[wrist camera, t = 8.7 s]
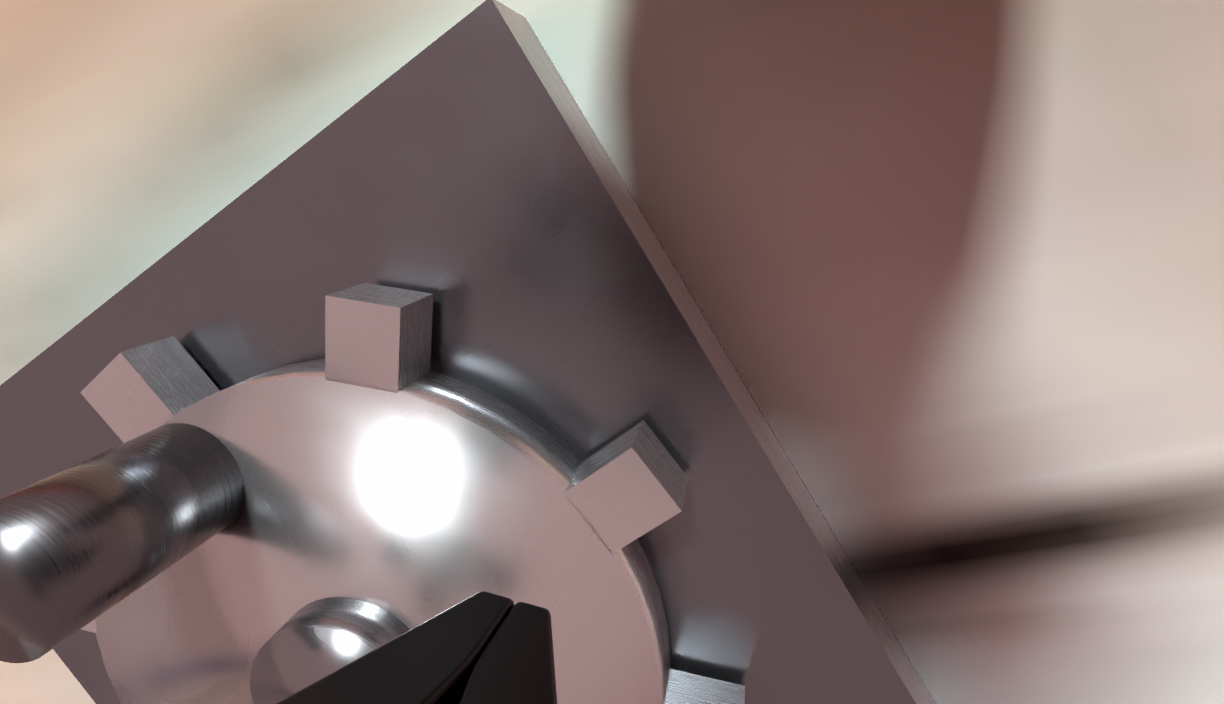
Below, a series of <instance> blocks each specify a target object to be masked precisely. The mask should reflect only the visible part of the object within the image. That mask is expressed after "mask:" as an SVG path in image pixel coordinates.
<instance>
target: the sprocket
mask: <svg viewBox="0 0 1224 704" xmlns="http://www.w3.org/2000/svg"><path fill="white" fill-rule="evenodd" d="M432 316H433V294H432V293H425V292H419V291H413V290H407V289H400V288H394V287H388V286H382V285H375V284H369V283H363V284H360V285H357V286H353V287H350V288H347V289H344V290H341V291H338V292H335V293H332V294H329V295H325V359H319V360H313V361H307V362H302V363H296V364H290V365H285V366H282V367H280V368H277V369H274V370H271V371H268V372H265V373H262V374H259V375H256V376H253V377H251V378H249V379H246V380H244V381H242V382H239V383H237V384H235V385H233V386H230V387H228V388H226V389H223V390H221V391H220V390H219V389H218V388H217V386H216V385H215V384H214V383H213V382H212V381H211V379H210V378H209V377H208V376H207V375H206V373H205V372H204V371H203V370H202V369H201V367H200V366H199V365H198V364H197V363H196V362H195V360H194V359H193V358H192V357H191V356H190V354H189V353H188V352H187V351H186V350H185V348H184V347H183V346H182V345H181V344H180V343H179V341H178V340H177V339H176V338H175V337H174V336H172V337H169V338H166V339H163V340H159V341H156V342H153V343H150V344H146V345H143V346H140V347H137V348H133V349H130V350H127V351H124V352H120V353H119V354H118V355H117V356H116V357H115V358H114V359H113V360H112V361H111V362H110V363H109V364H108V365H107V366H106V367H105V368H104V369H103V370H102V371H101V372H100V373H99V374H98V375H97V376H96V377H95V378H94V379H93V380H92V381H91V382H90V383H89V384H88V385H87V386H86V387H85V388H84V389H83V390H82V391H81V392H80V393H81V394H82V395H83V396H84V398H85V399H86V400H87V401H88V402H89V403H90V404H91V406H92V407H93V408H94V409H95V410H96V411H97V413H98V414H99V415H100V416H101V417H102V418H103V419H104V421H105V422H106V423H107V424H108V425H109V426H110V428H111V429H112V430H113V431H114V432H115V433H116V434H117V436H118V437H119V438H120V439H121V440H122V441H123V444H120V445H118V446H116V447H114V448H112V449H109V450H107V451H105V452H103V453H101V454H98V455H96V456H94V457H92V458H90V459H87V460H85V461H83V462H81V463H79V464H76V465H74V466H72V467H70V468H67V469H65V470H63V471H61V472H59V473H56V474H54V475H52V476H50V477H48V478H45V479H43V480H41V481H39V482H37V483H34V484H32V485H30V486H28V487H25V488H23V489H21V490H19V491H17V492H14V493H12V494H10V495H8V496H6V497H3V498H1V499H0V661H4V662H10V663H25V662H29V661H33V660H35V659H38V658H40V657H41V656H43V655H44V654H46V653H47V652H48V651H50V650H51V649H53V648H54V647H56V646H57V645H58V644H60V643H61V642H63V641H64V640H66V639H67V638H68V637H70V636H71V635H73V634H74V633H76V632H77V631H78V630H80V629H81V630H85V631H89V632H93V633H96V638H97V641H98V645H99V648H100V651H101V655H102V658H103V662H104V665H105V668H106V671H107V673H108V676H109V678H110V681H111V683H112V685H113V688H114V690H115V692H116V695H117V697H118V700H119V702H120V703H121V704H277V703H278V702H280V701H282V700H284V699H286V698H288V697H289V696H291V695H293V694H295V693H297V692H298V691H300V690H302V689H304V688H306V687H307V686H309V685H311V684H313V683H315V682H317V681H318V680H320V679H322V678H324V677H326V676H327V675H329V674H331V673H333V672H335V671H336V670H338V669H340V668H342V667H344V666H346V665H347V664H349V663H351V662H353V661H355V660H356V659H358V658H360V657H362V656H364V655H365V654H367V653H369V652H371V651H373V650H375V649H376V648H378V647H380V646H382V645H384V644H385V643H387V642H389V641H391V640H393V639H394V638H396V637H398V636H400V635H402V634H404V633H405V632H407V631H409V630H411V629H413V628H414V627H416V626H418V625H420V624H422V623H423V622H425V621H427V620H429V619H431V618H433V617H434V616H436V615H438V614H440V613H442V612H443V611H445V610H447V609H449V608H451V607H452V606H454V605H456V604H458V603H460V602H462V601H463V600H465V599H467V598H469V597H471V596H472V595H474V594H476V593H478V592H481V591H486V592H490V593H493V594H497V595H500V596H504V597H507V598H510V599H512V600H513V602H514V605H515V604H516V603H518V602H525V603H528V604H532V605H536V606H539V607H543V608H546V609H548V610H549V612H550V614H551V625H552V638H553V652H554V665H555V679H556V692H557V704H745V686H744V685H739V684H735V683H731V682H726V681H722V680H718V679H713V678H709V677H705V676H700V675H696V674H692V673H687V672H683V671H679V670H674V669H670V649H669V634H668V626H667V621H666V617H665V612H664V608H663V603H662V598H661V594H660V591H659V588H658V585H657V583H656V580H655V577H654V575H653V572H652V569H651V566H650V564H649V561H648V558H647V556H646V554H645V552H644V550H643V548H642V547H641V545H640V543H639V541H638V539H637V538H639V537H641V536H642V535H644V534H646V533H647V532H649V531H650V530H652V529H654V528H655V527H657V526H659V525H660V524H662V523H664V522H665V521H667V520H668V519H670V518H672V517H673V516H675V515H677V514H678V513H680V512H681V511H682V508H683V503H684V498H685V493H686V489H687V484H688V479H689V478H688V477H687V476H686V474H685V473H684V472H683V470H682V469H681V468H680V466H679V465H678V464H677V463H676V461H675V460H674V459H673V457H672V456H671V455H670V454H669V452H668V451H667V450H666V448H665V447H664V446H663V445H662V443H661V442H660V441H659V439H658V438H657V437H656V436H655V434H654V433H653V432H652V430H651V429H650V428H649V427H648V425H647V424H646V423H645V421H644V420H643V421H642V422H640V423H639V424H637V425H636V426H634V427H633V428H631V429H630V430H628V431H627V432H625V433H624V434H622V435H621V436H619V437H618V438H617V439H615V440H614V441H612V442H611V443H609V444H608V445H606V446H605V447H603V448H602V449H600V450H599V451H597V452H596V453H594V454H593V455H591V456H590V457H588V458H587V459H585V460H584V461H583V462H581V461H580V460H579V459H578V458H577V457H576V456H575V455H574V454H573V453H572V452H570V451H569V450H568V449H567V448H566V447H565V446H564V445H563V444H561V443H560V442H559V441H558V440H557V439H556V438H555V437H553V436H552V435H551V434H550V433H549V432H548V431H547V430H545V429H544V428H542V427H541V426H540V425H538V424H537V423H535V422H534V421H532V420H531V419H529V418H528V417H526V416H525V415H524V414H522V413H521V412H519V411H518V410H516V409H515V408H513V407H512V406H510V405H508V404H507V403H505V402H503V401H501V400H499V399H497V398H495V397H493V396H491V395H489V394H488V393H486V392H484V391H482V390H480V389H478V388H476V387H474V386H472V385H469V384H467V383H464V382H461V381H459V380H456V379H453V378H451V377H448V376H446V375H443V374H440V373H438V372H435V371H431V370H430V361H431V339H432Z"/></svg>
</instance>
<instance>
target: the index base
mask: <svg viewBox="0 0 1224 704" xmlns="http://www.w3.org/2000/svg"><path fill="white" fill-rule="evenodd" d="M363 283H369V284H375V285H382V286H388V287H394V288H400V289H407V290H413V291H419V292H425V293H432V294H433V316H432V339H431V361H430V370H431V371H435V372H438V373H440V374H443V375H446V376H448V377H451V378H453V379H456V380H459V381H461V382H464V383H467V384H469V385H472V386H474V387H476V388H478V389H480V390H482V391H484V392H486V393H488V394H489V395H491V396H493V397H495V398H497V399H499V400H501V401H503V402H505V403H507V404H508V405H510V406H512V407H513V408H515V409H516V410H518V411H519V412H521V413H522V414H524V415H525V416H526V417H528V418H529V419H531V420H532V421H534V422H535V423H537V424H538V425H540V426H541V427H542V428H544V429H545V430H547V431H548V432H549V433H550V434H551V435H552V436H553V437H555V438H556V439H557V440H558V441H559V442H560V443H561V444H563V445H564V446H565V447H566V448H567V449H568V450H569V451H570V452H572V453H573V454H574V455H575V456H576V457H577V458H578V459H579V460H580V461H581V462H583V461H584V460H585V459H587V458H588V457H590V456H591V455H593V454H594V453H596V452H597V451H599V450H600V449H602V448H603V447H605V446H606V445H608V444H609V443H611V442H612V441H614V440H615V439H617V438H618V437H619V436H621V435H622V434H624V433H625V432H627V431H628V430H630V429H631V428H633V427H634V426H636V425H637V424H639V423H640V422H642V421H643V420H644V421H645V423H646V424H647V425H648V427H649V428H650V429H651V430H652V432H653V433H654V434H655V436H656V437H657V438H658V439H659V441H660V442H661V443H662V445H663V446H664V447H665V448H666V450H667V451H668V452H669V454H670V455H671V456H672V457H673V459H674V460H675V461H676V463H677V464H678V465H679V466H680V468H681V469H682V470H683V472H684V473H685V474H686V476H687V477H688V478H689V479H688V484H687V489H686V493H685V498H684V503H683V508H682V511H681V512H680V513H678V514H677V515H675V516H673V517H672V518H670V519H668V520H667V521H665V522H664V523H662V524H660V525H659V526H657V527H655V528H654V529H652V530H650V531H649V532H647V533H646V534H644V535H642V536H641V537H639V538H637V539H638V541H639V543H640V545H641V547H642V548H643V550H644V552H645V554H646V556H647V558H648V561H649V564H650V566H651V569H652V572H653V575H654V577H655V580H656V583H657V585H658V588H659V591H660V594H661V598H662V603H663V608H664V612H665V617H666V621H667V626H668V634H669V649H670V669H674V670H679V671H683V672H687V673H692V674H696V675H700V676H705V677H709V678H713V679H718V680H722V681H726V682H731V683H735V684H739V685H744V686H745V704H935V702H934V701H933V699H932V697H931V696H930V694H929V692H928V691H927V689H926V687H925V686H924V684H923V682H922V680H921V679H920V677H919V675H918V674H917V672H916V670H915V669H914V667H913V665H912V664H911V662H910V660H909V659H908V657H907V655H906V654H905V652H904V650H903V649H902V647H901V645H900V644H899V642H898V640H897V639H896V637H895V635H894V634H893V632H892V630H891V629H890V627H889V625H888V624H887V622H886V620H885V619H884V617H883V615H882V614H881V612H880V610H879V609H878V607H877V605H876V604H875V602H874V600H873V599H872V597H871V595H870V594H869V592H868V590H867V589H866V587H865V585H864V583H863V582H862V580H861V578H860V577H859V575H858V573H857V572H856V570H855V568H854V567H853V565H852V563H851V562H850V560H849V558H848V557H847V555H846V553H845V552H844V550H843V548H842V547H841V545H840V543H839V542H838V540H837V538H836V537H835V535H834V533H833V532H832V530H831V528H830V527H829V525H828V523H827V522H826V520H825V518H824V517H823V515H822V513H821V512H820V510H819V508H818V507H817V505H816V503H815V502H814V500H813V498H812V497H811V495H810V493H809V491H808V490H807V488H806V486H805V485H804V483H803V481H802V480H801V478H800V476H799V475H798V473H797V471H796V470H795V468H794V466H793V465H792V463H791V461H790V460H789V458H788V456H787V455H786V453H785V451H784V450H783V448H782V446H781V445H780V443H779V441H778V440H777V438H776V436H775V435H774V433H773V431H772V430H771V428H770V426H769V425H768V423H767V421H766V420H765V418H764V416H763V415H762V413H761V411H760V410H759V408H758V406H757V405H756V403H755V401H754V400H753V398H752V396H751V394H750V393H749V391H748V389H747V388H746V386H745V384H744V383H743V381H742V379H741V378H740V376H739V374H738V373H737V371H736V369H735V368H734V366H733V364H732V363H731V361H730V359H729V358H728V356H727V354H726V353H725V351H724V349H723V348H722V346H721V344H720V343H719V341H718V339H717V338H716V336H715V334H714V333H713V331H712V329H711V328H710V326H709V324H708V323H707V321H706V319H705V318H704V316H703V314H702V313H701V311H700V309H699V308H698V306H697V304H696V303H695V301H694V299H693V297H692V296H691V294H690V292H689V291H688V289H687V287H686V286H685V284H684V282H683V281H682V279H681V277H680V276H679V274H678V272H677V271H676V269H675V267H674V266H673V264H672V262H671V261H670V259H669V257H668V256H667V254H666V252H665V251H664V249H663V247H662V246H661V244H660V242H659V241H658V239H657V237H656V236H655V234H654V232H653V231H652V229H651V227H650V226H649V224H648V222H647V221H646V219H645V217H644V216H643V214H642V212H641V211H640V209H639V207H638V206H637V204H636V202H635V200H634V199H633V197H632V195H631V194H630V192H629V190H628V189H627V187H626V185H625V184H624V182H623V180H622V179H621V177H620V175H619V174H618V172H617V170H616V169H615V167H614V165H613V164H612V162H611V160H610V159H609V157H608V155H607V154H606V152H605V150H604V149H603V147H602V145H601V144H600V142H599V140H598V139H597V137H596V135H595V134H594V132H593V130H592V129H591V127H590V125H589V124H588V122H587V120H586V119H585V117H584V115H583V114H582V112H581V110H580V108H579V107H578V105H577V103H576V102H575V100H574V98H573V97H572V95H571V93H570V92H569V90H568V88H567V87H566V85H565V83H564V82H563V80H562V78H561V77H560V75H559V73H558V72H557V70H556V68H555V67H554V65H553V63H552V62H551V60H550V58H549V57H548V55H547V53H546V52H545V50H544V48H543V47H542V45H541V43H540V42H539V40H538V38H537V37H536V35H535V33H534V32H533V30H532V28H531V27H530V25H529V23H528V22H527V20H526V18H524V17H523V16H521V15H519V14H518V13H516V12H514V11H513V10H511V9H509V8H508V7H506V6H504V5H503V4H501V3H499V2H498V1H496V0H486V1H485V2H484V3H482V4H481V5H480V6H479V7H477V8H476V9H475V10H474V11H472V12H471V13H470V14H469V15H467V16H466V17H465V18H463V19H462V20H461V21H460V22H458V23H457V24H456V25H455V26H453V27H452V28H451V29H450V30H448V31H447V32H446V33H445V34H443V35H442V36H441V37H439V38H438V39H437V40H436V41H434V42H433V43H432V44H431V45H429V46H428V47H427V48H426V49H424V50H423V51H422V52H421V53H419V54H418V55H417V56H416V57H414V58H413V59H412V60H410V61H409V62H408V63H407V64H405V65H404V66H403V67H402V68H400V69H399V70H398V71H397V72H395V73H394V74H393V75H392V76H390V77H389V78H388V79H387V80H385V81H384V82H383V83H381V84H380V85H379V86H378V87H376V88H375V89H374V90H373V91H371V92H370V93H369V94H368V95H366V96H365V97H364V98H363V99H361V100H360V101H359V102H358V103H356V104H355V105H354V106H352V107H351V108H350V109H349V110H347V111H346V112H345V113H344V114H342V115H341V116H340V117H339V118H337V119H336V120H335V121H334V122H332V123H331V124H330V125H329V126H327V127H326V128H325V129H323V130H322V131H321V132H320V133H318V134H317V135H316V136H315V137H313V138H312V139H311V140H310V141H308V142H307V143H306V144H305V145H303V146H302V147H301V148H300V149H298V150H297V151H296V152H294V153H293V154H292V155H291V156H289V157H288V158H287V159H286V160H284V161H283V162H282V163H281V164H279V165H278V166H277V167H276V168H274V169H273V170H272V171H271V172H269V173H268V174H267V175H265V176H264V177H263V178H262V179H260V180H259V181H258V182H257V183H255V184H254V185H253V186H252V187H250V188H249V189H248V190H247V191H245V192H244V193H243V194H242V195H240V196H239V197H238V198H236V199H235V200H234V201H233V202H231V203H230V204H229V205H228V206H226V207H225V208H224V209H223V210H221V211H220V212H219V213H218V214H216V215H215V216H214V217H213V218H211V219H210V220H209V221H207V222H206V223H205V224H204V225H202V226H201V227H200V228H199V229H197V230H196V231H195V232H194V233H192V234H191V235H190V236H189V237H187V238H186V239H185V240H184V241H182V242H181V243H180V244H178V245H177V246H176V247H175V248H173V249H172V250H171V251H170V252H168V253H167V254H166V255H165V256H163V257H162V258H161V259H160V260H158V261H157V262H156V263H155V264H153V265H152V266H151V267H149V268H148V269H147V270H146V271H144V272H143V273H142V274H141V275H139V276H138V277H137V278H136V279H134V280H133V281H132V282H131V283H129V284H128V285H127V286H125V287H124V288H123V289H122V290H120V291H119V292H118V293H117V294H115V295H114V296H113V297H112V298H110V299H109V300H108V301H107V302H105V303H104V304H103V305H102V306H100V307H99V308H98V309H96V310H95V311H94V312H93V313H91V314H90V315H89V316H88V317H86V318H85V319H84V320H83V321H81V322H80V323H79V324H78V325H76V326H75V327H74V328H73V329H71V330H70V331H69V332H67V333H66V334H65V335H64V336H62V337H61V338H60V339H59V340H57V341H56V342H55V343H54V344H52V345H51V346H50V347H49V348H47V349H46V350H45V351H44V352H42V353H41V354H40V355H38V356H37V357H36V358H35V359H33V360H32V361H31V362H30V363H28V364H27V365H26V366H25V367H23V368H22V369H21V370H20V371H18V372H17V373H16V374H15V375H13V376H12V377H11V378H9V379H8V380H7V381H6V382H4V383H3V384H2V385H1V386H0V499H1V498H3V497H6V496H8V495H10V494H12V493H14V492H17V491H19V490H21V489H23V488H25V487H28V486H30V485H32V484H34V483H37V482H39V481H41V480H43V479H45V478H48V477H50V476H52V475H54V474H56V473H59V472H61V471H63V470H65V469H67V468H70V467H72V466H74V465H76V464H79V463H81V462H83V461H85V460H87V459H90V458H92V457H94V456H96V455H98V454H101V453H103V452H105V451H107V450H109V449H112V448H114V447H116V446H118V445H120V444H123V441H122V440H121V439H120V438H119V437H118V436H117V434H116V433H115V432H114V431H113V430H112V429H111V428H110V426H109V425H108V424H107V423H106V422H105V421H104V419H103V418H102V417H101V416H100V415H99V414H98V413H97V411H96V410H95V409H94V408H93V407H92V406H91V404H90V403H89V402H88V401H87V400H86V399H85V398H84V396H83V395H82V394H81V393H80V392H81V391H82V390H83V389H84V388H85V387H86V386H87V385H88V384H89V383H90V382H91V381H92V380H93V379H94V378H95V377H96V376H97V375H98V374H99V373H100V372H101V371H102V370H103V369H104V368H105V367H106V366H107V365H108V364H109V363H110V362H111V361H112V360H113V359H114V358H115V357H116V356H117V355H118V354H119V353H120V352H124V351H127V350H130V349H133V348H137V347H140V346H143V345H146V344H150V343H153V342H156V341H159V340H163V339H166V338H169V337H172V336H174V337H175V338H176V339H177V340H178V341H179V343H180V344H181V345H182V346H183V347H184V348H185V350H186V351H187V352H188V353H189V354H190V356H191V357H192V358H193V359H194V360H195V362H196V363H197V364H198V365H199V366H200V367H201V369H202V370H203V371H204V372H205V373H206V375H207V376H208V377H209V378H210V379H211V381H212V382H213V383H214V384H215V385H216V386H217V388H218V389H219V390H220V391H221V390H223V389H226V388H228V387H230V386H233V385H235V384H237V383H239V382H242V381H244V380H246V379H249V378H251V377H253V376H256V375H259V374H262V373H265V372H268V371H271V370H274V369H277V368H280V367H282V366H285V365H290V364H296V363H302V362H307V361H313V360H319V359H325V295H329V294H332V293H335V292H338V291H341V290H344V289H347V288H350V287H353V286H357V285H360V284H363ZM53 649H54V651H55V652H56V653H57V654H58V656H59V657H60V658H61V659H62V661H63V662H64V663H65V665H66V666H67V667H68V668H69V670H70V671H71V672H72V673H73V675H74V676H75V677H76V679H77V680H78V681H79V682H80V684H81V685H82V686H83V688H84V689H85V690H86V691H87V693H88V694H89V695H90V696H91V698H92V699H93V700H94V702H95V703H96V704H121V703H120V702H119V700H118V697H117V695H116V692H115V690H114V688H113V685H112V683H111V681H110V678H109V676H108V673H107V671H106V668H105V665H104V662H103V658H102V655H101V651H100V648H99V645H98V641H97V638H96V633H93V632H89V631H85V630H81V629H80V630H78V631H77V632H76V633H74V634H73V635H71V636H70V637H68V638H67V639H66V640H64V641H63V642H61V643H60V644H58V645H57V646H56V647H54V648H53Z"/></svg>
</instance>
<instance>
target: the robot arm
mask: <svg viewBox="0 0 1224 704" xmlns="http://www.w3.org/2000/svg"><path fill="white" fill-rule="evenodd" d="M277 704H557V692H556V679H555V665H554V652H553V638H552V625H551V614H550V612H549V610H548V609H546V608H543V607H539V606H536V605H532V604H528V603H525V602H518V603H516V604H515V605H514V602H513V600H512V599H510V598H507V597H504V596H500V595H497V594H493V593H490V592H486V591H481V592H478V593H476V594H474V595H472V596H471V597H469V598H467V599H465V600H463V601H462V602H460V603H458V604H456V605H454V606H452V607H451V608H449V609H447V610H445V611H443V612H442V613H440V614H438V615H436V616H434V617H433V618H431V619H429V620H427V621H425V622H423V623H422V624H420V625H418V626H416V627H414V628H413V629H411V630H409V631H407V632H405V633H404V634H402V635H400V636H398V637H396V638H394V639H393V640H391V641H389V642H387V643H385V644H384V645H382V646H380V647H378V648H376V649H375V650H373V651H371V652H369V653H367V654H365V655H364V656H362V657H360V658H358V659H356V660H355V661H353V662H351V663H349V664H347V665H346V666H344V667H342V668H340V669H338V670H336V671H335V672H333V673H331V674H329V675H327V676H326V677H324V678H322V679H320V680H318V681H317V682H315V683H313V684H311V685H309V686H307V687H306V688H304V689H302V690H300V691H298V692H297V693H295V694H293V695H291V696H289V697H288V698H286V699H284V700H282V701H280V702H278V703H277Z"/></svg>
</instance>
